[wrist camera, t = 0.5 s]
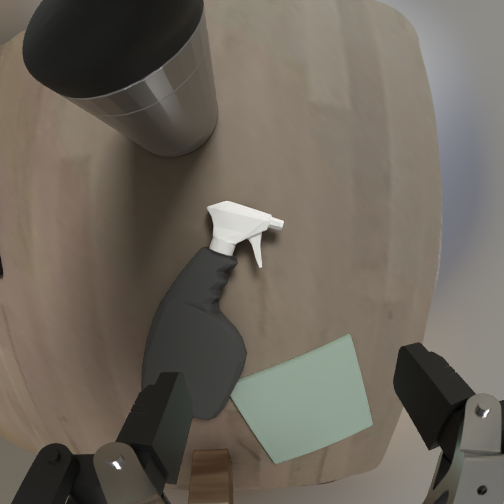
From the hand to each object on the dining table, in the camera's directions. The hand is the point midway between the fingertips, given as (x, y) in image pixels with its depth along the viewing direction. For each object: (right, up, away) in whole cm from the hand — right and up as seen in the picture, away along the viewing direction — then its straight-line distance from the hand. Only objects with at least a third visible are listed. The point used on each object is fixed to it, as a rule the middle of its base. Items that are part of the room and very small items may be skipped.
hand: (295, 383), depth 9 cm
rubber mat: (+6, -16, +24) cm, 29 cm away
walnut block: (-7, -26, +24) cm, 36 cm away
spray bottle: (-6, -2, +20) cm, 22 cm away
